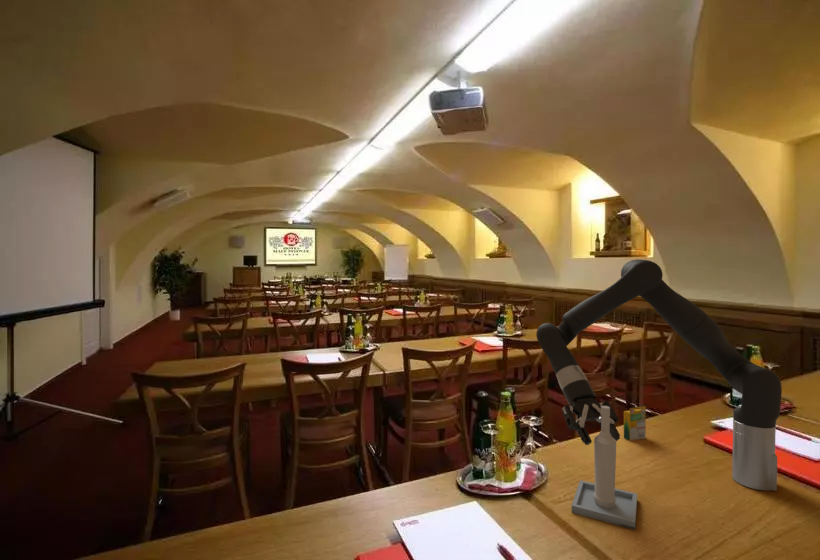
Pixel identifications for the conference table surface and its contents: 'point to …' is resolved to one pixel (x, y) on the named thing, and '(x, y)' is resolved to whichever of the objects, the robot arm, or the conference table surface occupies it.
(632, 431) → the crayon box
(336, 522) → the conference table surface
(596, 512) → the tray
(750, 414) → the robot arm
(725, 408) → the conference table surface
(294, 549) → the conference table surface
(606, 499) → the bottle
